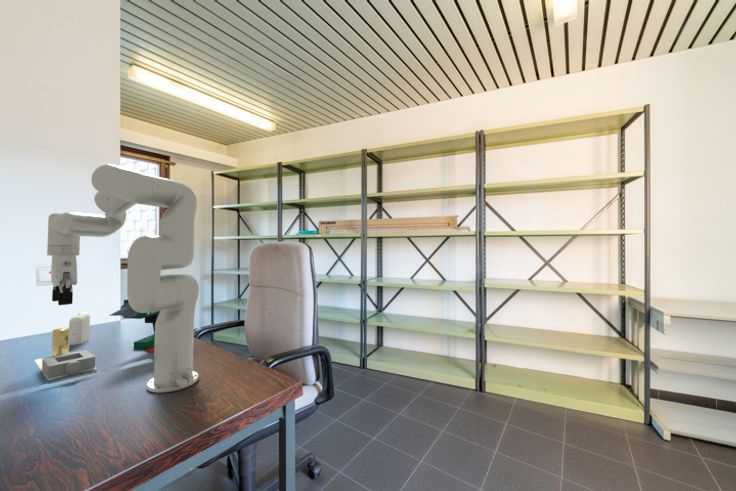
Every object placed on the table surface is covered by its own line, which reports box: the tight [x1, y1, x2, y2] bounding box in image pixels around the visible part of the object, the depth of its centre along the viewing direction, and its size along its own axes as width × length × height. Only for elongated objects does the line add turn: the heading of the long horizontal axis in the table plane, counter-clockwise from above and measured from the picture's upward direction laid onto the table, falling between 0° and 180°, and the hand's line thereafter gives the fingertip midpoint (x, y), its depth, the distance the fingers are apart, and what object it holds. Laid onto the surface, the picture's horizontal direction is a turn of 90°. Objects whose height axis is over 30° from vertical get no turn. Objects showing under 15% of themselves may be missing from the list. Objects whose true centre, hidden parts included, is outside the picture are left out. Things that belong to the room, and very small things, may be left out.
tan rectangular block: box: [51, 327, 70, 357], centre depth 99 cm, size 4×4×10 cm
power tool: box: [108, 298, 161, 354], centre depth 113 cm, size 32×7×20 cm, turn 179°
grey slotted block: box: [33, 349, 97, 385], centre depth 95 cm, size 25×10×5 cm, turn 54°
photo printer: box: [68, 311, 91, 346], centre depth 118 cm, size 10×4×12 cm, turn 28°
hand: (62, 302), depth 99 cm, fingers open, 9 cm apart
